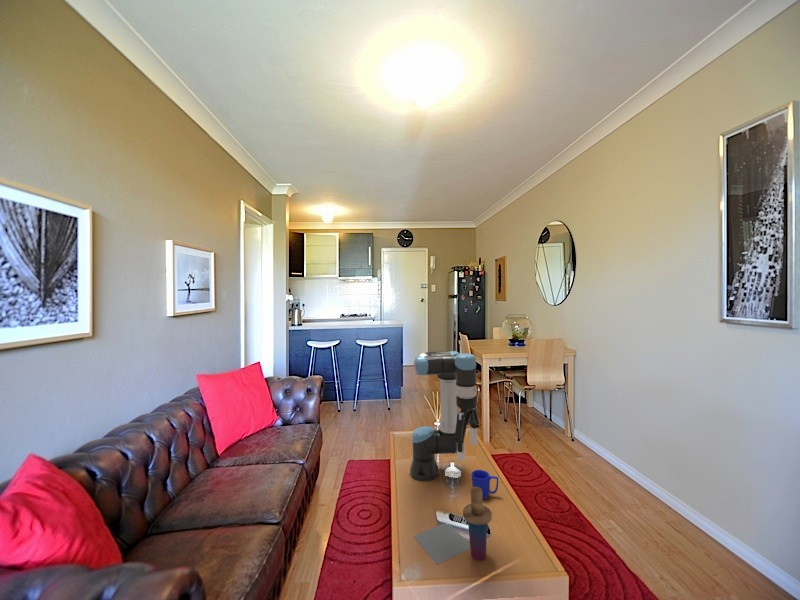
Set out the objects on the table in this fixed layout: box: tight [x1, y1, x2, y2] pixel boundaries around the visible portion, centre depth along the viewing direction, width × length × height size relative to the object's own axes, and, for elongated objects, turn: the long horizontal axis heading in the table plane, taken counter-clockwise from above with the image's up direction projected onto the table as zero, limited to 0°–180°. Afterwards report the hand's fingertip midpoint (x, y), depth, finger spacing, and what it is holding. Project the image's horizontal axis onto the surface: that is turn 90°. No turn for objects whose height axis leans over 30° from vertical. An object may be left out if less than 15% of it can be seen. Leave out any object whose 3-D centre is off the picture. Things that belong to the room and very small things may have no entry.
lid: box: [462, 486, 493, 525], centre depth 120 cm, size 10×10×9 cm
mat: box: [412, 523, 471, 565], centre depth 128 cm, size 16×16×1 cm
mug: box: [471, 469, 499, 500], centre depth 157 cm, size 8×12×10 cm
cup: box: [467, 521, 488, 562], centre depth 120 cm, size 7×7×15 cm
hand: (467, 451), depth 128 cm, fingers open, 13 cm apart
